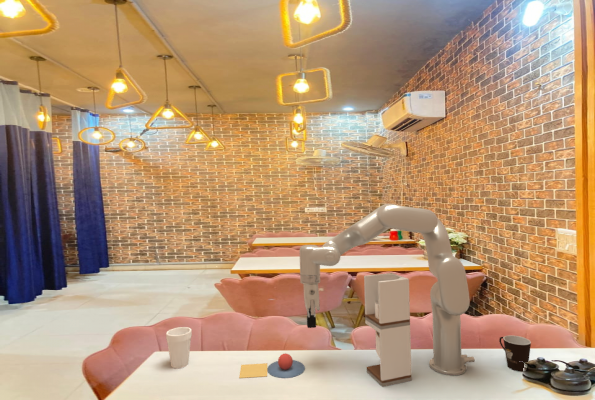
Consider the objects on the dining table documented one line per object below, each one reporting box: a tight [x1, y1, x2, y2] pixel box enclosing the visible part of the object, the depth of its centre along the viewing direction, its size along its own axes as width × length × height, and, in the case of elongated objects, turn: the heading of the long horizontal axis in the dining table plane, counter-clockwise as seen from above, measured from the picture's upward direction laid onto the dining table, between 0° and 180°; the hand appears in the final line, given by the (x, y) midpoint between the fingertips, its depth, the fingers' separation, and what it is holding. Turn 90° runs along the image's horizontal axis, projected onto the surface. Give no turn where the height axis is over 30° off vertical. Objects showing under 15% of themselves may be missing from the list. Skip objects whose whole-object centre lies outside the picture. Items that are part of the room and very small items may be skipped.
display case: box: [363, 272, 412, 388], centre depth 127 cm, size 11×11×35 cm
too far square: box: [238, 362, 268, 379], centre depth 134 cm, size 10×10×1 cm
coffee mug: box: [498, 335, 532, 373], centre depth 133 cm, size 12×9×10 cm
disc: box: [267, 359, 306, 379], centre depth 135 cm, size 14×14×1 cm
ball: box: [277, 352, 294, 370], centre depth 135 cm, size 6×6×6 cm
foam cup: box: [165, 326, 193, 369], centre depth 141 cm, size 10×9×13 cm
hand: (311, 326), depth 136 cm, fingers closed
